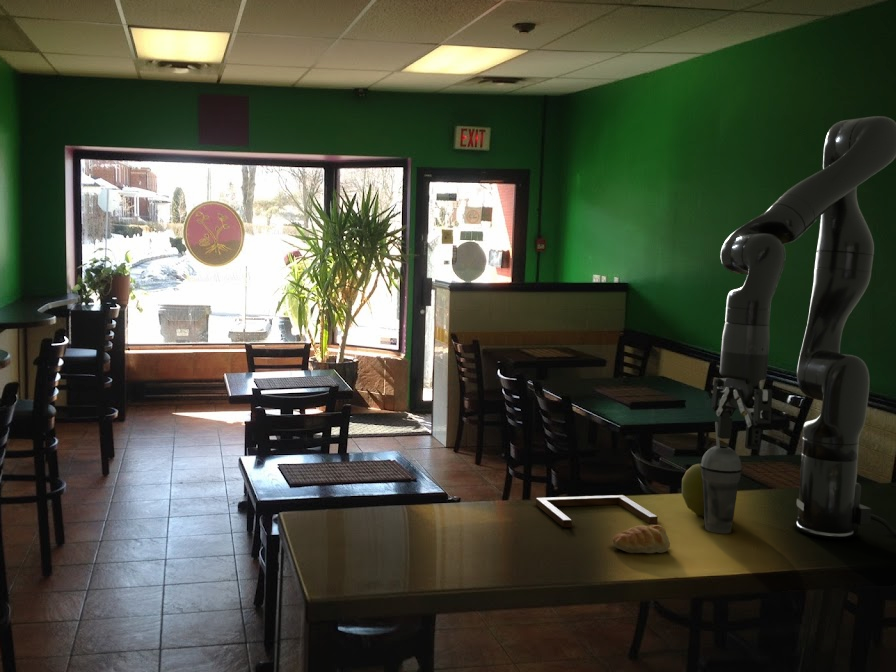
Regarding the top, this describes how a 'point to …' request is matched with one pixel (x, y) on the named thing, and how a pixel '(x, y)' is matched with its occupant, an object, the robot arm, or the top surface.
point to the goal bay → (565, 521)
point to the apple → (693, 489)
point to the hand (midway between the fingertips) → (737, 443)
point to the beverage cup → (720, 486)
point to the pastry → (642, 539)
